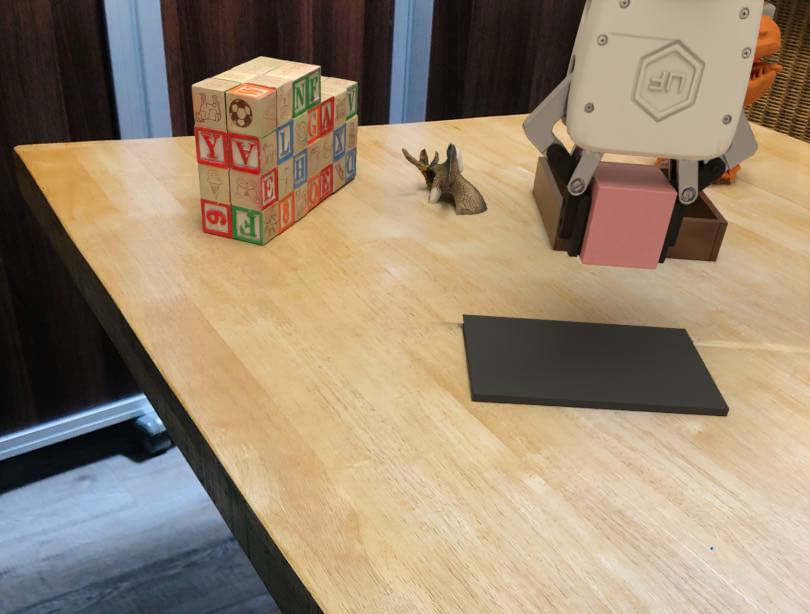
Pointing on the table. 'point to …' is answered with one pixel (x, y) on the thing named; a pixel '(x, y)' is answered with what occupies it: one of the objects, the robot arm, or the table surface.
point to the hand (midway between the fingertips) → (612, 249)
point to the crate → (693, 243)
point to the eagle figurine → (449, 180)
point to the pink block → (627, 216)
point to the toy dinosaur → (758, 73)
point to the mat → (587, 365)
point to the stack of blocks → (271, 145)
